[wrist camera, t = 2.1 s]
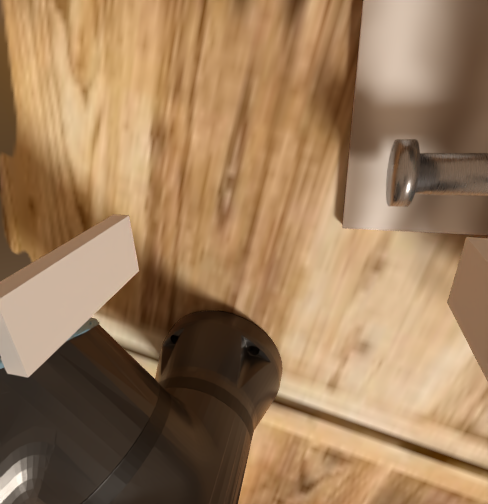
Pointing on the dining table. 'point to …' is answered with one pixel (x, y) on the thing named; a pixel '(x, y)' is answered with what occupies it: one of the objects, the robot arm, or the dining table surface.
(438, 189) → the pin
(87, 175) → the dining table surface
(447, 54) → the block
